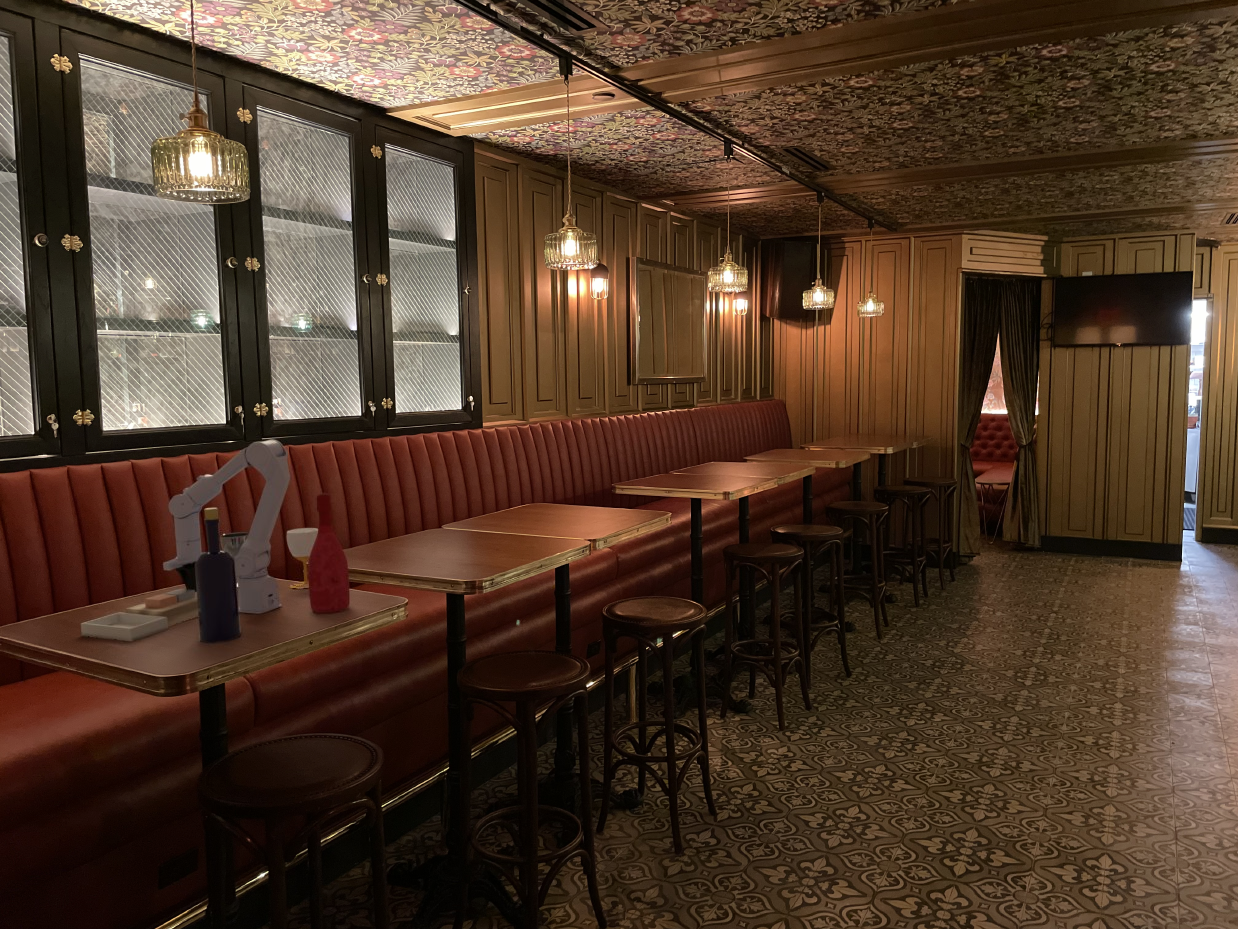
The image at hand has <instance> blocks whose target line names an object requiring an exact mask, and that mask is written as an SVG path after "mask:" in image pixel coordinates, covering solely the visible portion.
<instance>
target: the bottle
mask: <svg viewBox="0 0 1238 929" xmlns="http://www.w3.org/2000/svg"><path fill="white" fill-rule="evenodd" d="M220 522H221V521H220V517H219V509H218V507H207V508H204V525H205V532H206V540H207V541H206V542H207V550H208V551H204V552H205V553H204V552H202V554H201V555H200V557H199V558H198V560H197V561H196V563H195V576H196V589H197V592H196V596H197V602H198V615H199V617H198V626H199V640H200V641H199V642H200V643H207V644H216V643H223V642H224V643H225V642H230V641H232V640H235V639H238V638H241V637H242V630H241V619H240V612H239V594H238V588H237V575H236V566H235V558H234V557H233V556H232V555H231V554H230V553H229V552H228V551H223V550H222V549H221V539H220V525H219V524H220ZM240 635H241V636H240Z"/></svg>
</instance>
